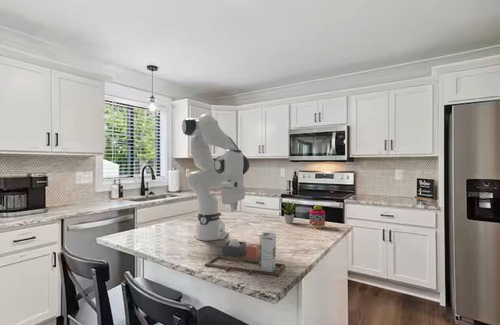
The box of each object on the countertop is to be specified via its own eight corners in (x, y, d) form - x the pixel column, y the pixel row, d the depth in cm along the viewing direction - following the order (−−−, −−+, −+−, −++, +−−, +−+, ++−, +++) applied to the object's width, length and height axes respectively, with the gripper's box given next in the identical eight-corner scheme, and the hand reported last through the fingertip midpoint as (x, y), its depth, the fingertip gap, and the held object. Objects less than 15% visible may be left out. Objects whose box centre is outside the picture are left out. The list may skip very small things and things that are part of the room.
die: (249, 253, 135) (249, 242, 135) (259, 255, 133) (259, 243, 133) (246, 257, 130) (246, 245, 130) (256, 258, 128) (256, 246, 128)
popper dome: (231, 247, 140) (231, 237, 140) (242, 248, 138) (242, 238, 138) (225, 250, 134) (225, 240, 134) (237, 252, 132) (237, 241, 132)
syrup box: (262, 266, 119) (262, 232, 119) (276, 267, 117) (276, 233, 117) (258, 271, 114) (258, 235, 114) (273, 273, 112) (273, 236, 112)
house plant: (293, 226, 190) (293, 202, 190) (275, 224, 197) (275, 200, 197) (302, 222, 202) (302, 200, 202) (284, 220, 209) (284, 198, 209)
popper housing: (229, 249, 142) (229, 240, 142) (246, 251, 139) (246, 242, 139) (221, 254, 133) (221, 245, 133) (239, 257, 130) (239, 247, 130)
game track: (218, 256, 132) (218, 254, 132) (286, 264, 120) (286, 262, 120) (202, 267, 118) (202, 265, 118) (277, 278, 106) (277, 276, 106)
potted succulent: (306, 226, 191) (306, 204, 191) (318, 224, 196) (318, 203, 196) (315, 229, 182) (315, 206, 182) (328, 228, 186) (328, 205, 186)
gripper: (236, 180, 147) (236, 206, 147) (218, 183, 127) (218, 214, 128) (247, 180, 144) (247, 207, 145) (231, 184, 125) (231, 215, 125)
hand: (234, 210), depth 136 cm, fingers closed
